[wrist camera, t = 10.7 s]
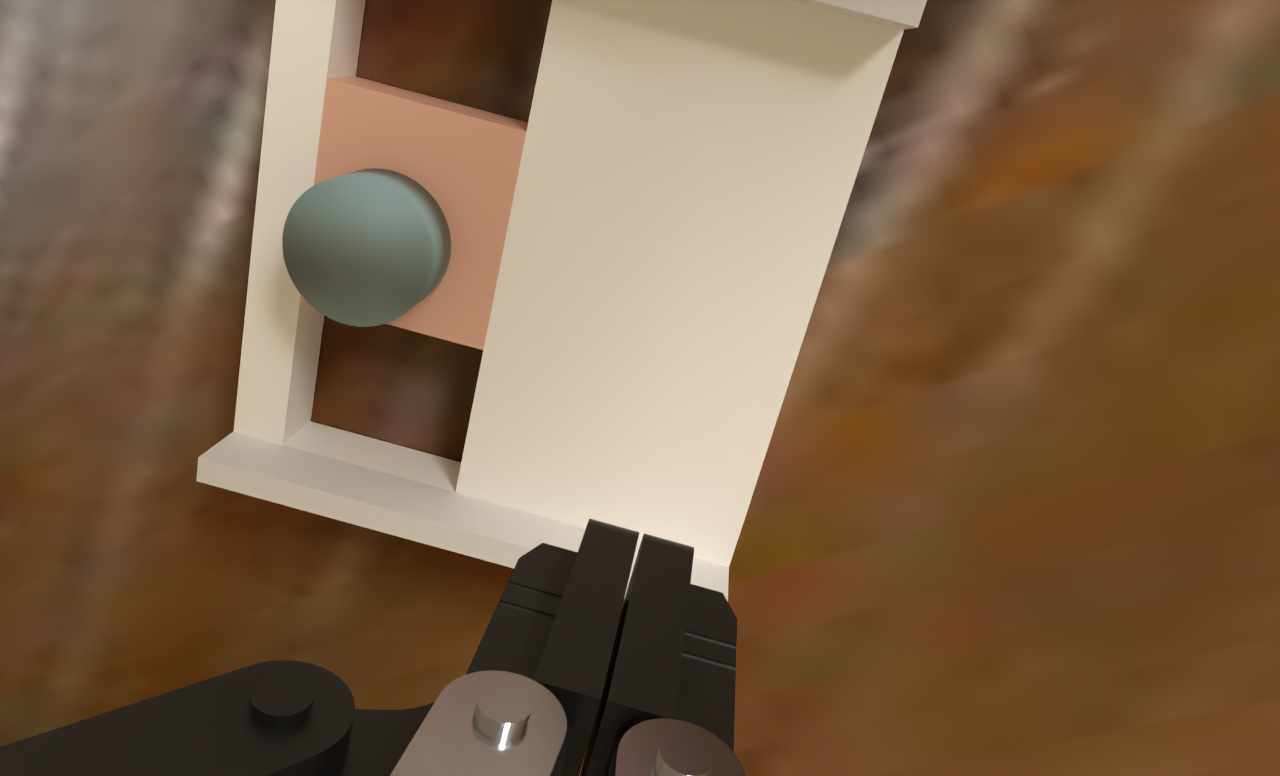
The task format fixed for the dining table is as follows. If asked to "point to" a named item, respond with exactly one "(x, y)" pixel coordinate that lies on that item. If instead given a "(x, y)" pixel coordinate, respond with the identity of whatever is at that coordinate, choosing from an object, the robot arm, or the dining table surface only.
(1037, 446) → the dining table surface
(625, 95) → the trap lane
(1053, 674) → the dining table surface
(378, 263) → the puck
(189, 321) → the dining table surface
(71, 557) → the dining table surface
